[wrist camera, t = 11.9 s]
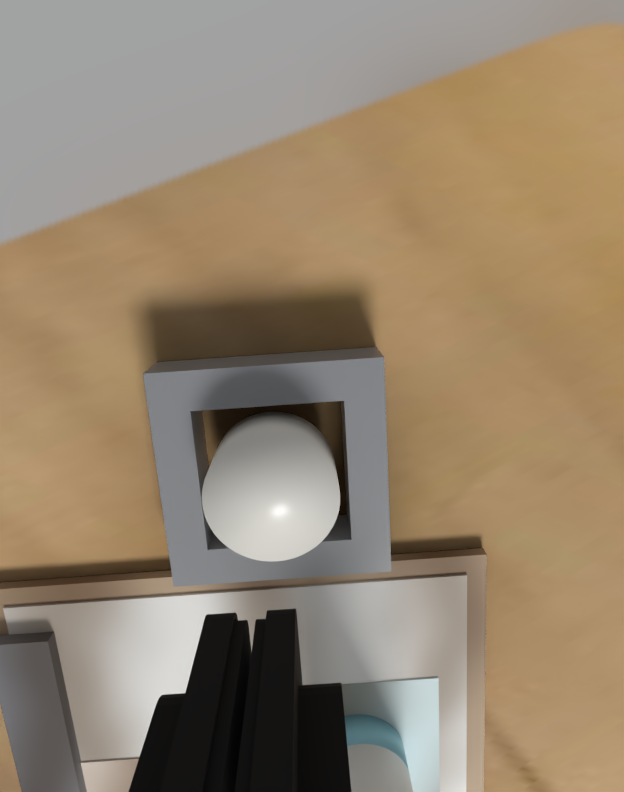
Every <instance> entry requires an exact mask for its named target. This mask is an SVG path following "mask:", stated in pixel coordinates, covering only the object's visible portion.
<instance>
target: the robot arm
mask: <svg viewBox="0 0 624 792" xmlns="http://www.w3.org/2000/svg"><path fill="white" fill-rule="evenodd" d="M129 792H351V781H350V771H349V760H348V749H347V738H346V727H345V716H344V705H343V694H342V685H341V683H328V684H313V685H303V683H302V671H301V659H300V647H299V635H298V623H297V612H296V608H295V609H280V610H267V614H266V619H256V621H255V629H254V637H253V645H252V652H251V642H250V633H249V625H248V621H247V620H239V621H238V617H237V614H236V613H221V614H207V615H206V616H205V619H204V623H203V627H202V631H201V635H200V638H199V642H198V646H197V650H196V654H195V658H194V662H193V665H192V669H191V673H190V677H189V681H188V685H187V688H186V692H185V693H181V694H166V695H161V696H160V698H159V699H158V702H157V704H156V707H155V710H154V713H153V716H152V719H151V722H150V726H149V729H148V732H147V735H146V738H145V741H144V744H143V748H142V751H141V754H140V757H139V760H138V763H137V766H136V770H135V773H134V776H133V779H132V782H131V785H130V789H129Z"/></svg>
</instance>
